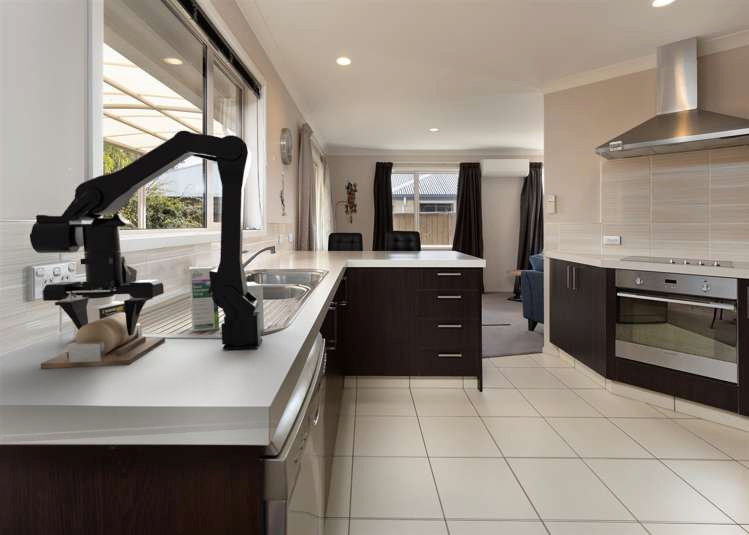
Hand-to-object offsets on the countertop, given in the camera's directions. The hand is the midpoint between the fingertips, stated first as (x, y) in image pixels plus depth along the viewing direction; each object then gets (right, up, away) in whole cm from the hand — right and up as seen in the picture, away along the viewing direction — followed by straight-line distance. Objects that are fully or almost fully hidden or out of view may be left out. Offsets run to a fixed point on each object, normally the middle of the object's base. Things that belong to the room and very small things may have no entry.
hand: (108, 335), depth 81 cm
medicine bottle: (-10, -3, +14) cm, 18 cm away
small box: (+20, -2, +19) cm, 28 cm away
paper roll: (0, -3, 0) cm, 3 cm away
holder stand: (0, -3, 0) cm, 3 cm away
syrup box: (+10, -2, +20) cm, 23 cm away
